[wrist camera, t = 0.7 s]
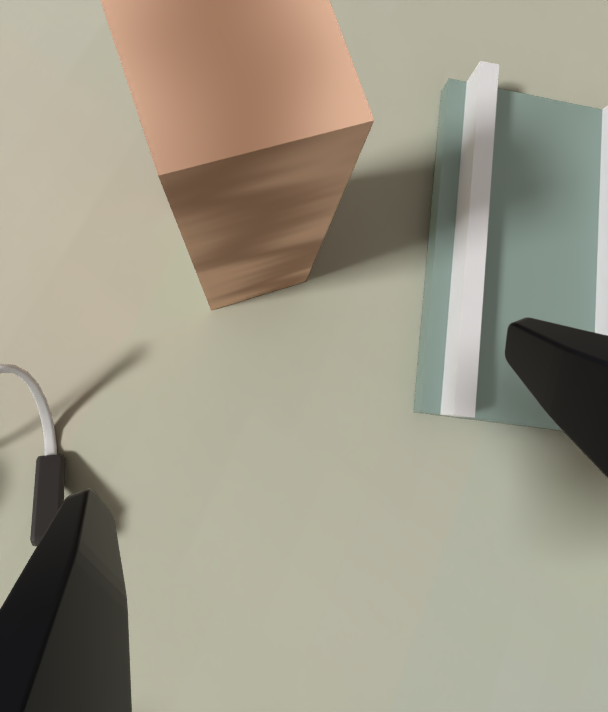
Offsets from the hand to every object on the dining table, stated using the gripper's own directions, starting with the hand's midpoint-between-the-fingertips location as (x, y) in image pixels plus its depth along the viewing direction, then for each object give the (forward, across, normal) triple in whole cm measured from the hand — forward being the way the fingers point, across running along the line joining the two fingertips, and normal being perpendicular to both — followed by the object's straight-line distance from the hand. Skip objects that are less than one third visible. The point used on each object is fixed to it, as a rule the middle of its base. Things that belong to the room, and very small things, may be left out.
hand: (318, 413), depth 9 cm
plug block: (+15, -1, +3) cm, 16 cm away
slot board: (+10, -19, +8) cm, 23 cm away
